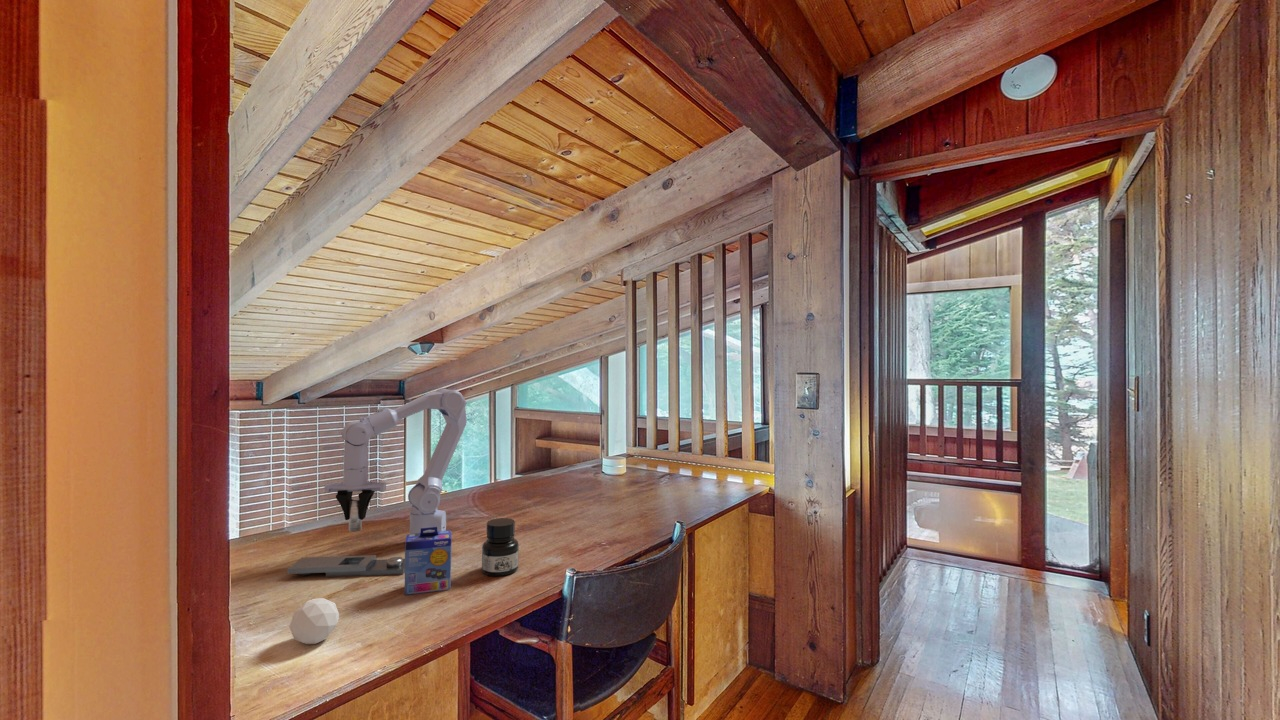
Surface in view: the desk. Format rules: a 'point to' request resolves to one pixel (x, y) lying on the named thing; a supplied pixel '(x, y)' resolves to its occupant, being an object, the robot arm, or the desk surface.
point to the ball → (314, 621)
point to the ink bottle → (500, 548)
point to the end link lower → (375, 568)
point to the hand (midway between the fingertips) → (355, 518)
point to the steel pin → (354, 515)
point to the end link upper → (331, 564)
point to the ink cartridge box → (428, 561)
